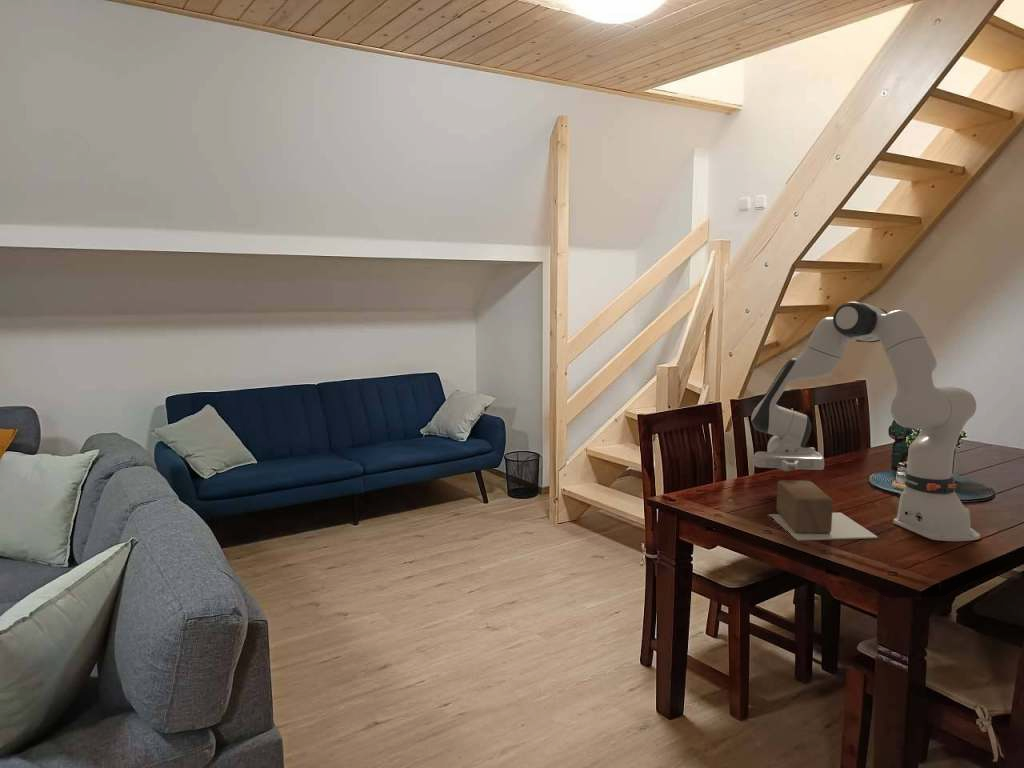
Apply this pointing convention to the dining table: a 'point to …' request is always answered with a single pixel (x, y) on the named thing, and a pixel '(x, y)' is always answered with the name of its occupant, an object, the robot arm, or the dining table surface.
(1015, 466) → the dining table surface
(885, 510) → the dining table surface
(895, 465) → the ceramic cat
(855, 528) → the mat
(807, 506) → the block
